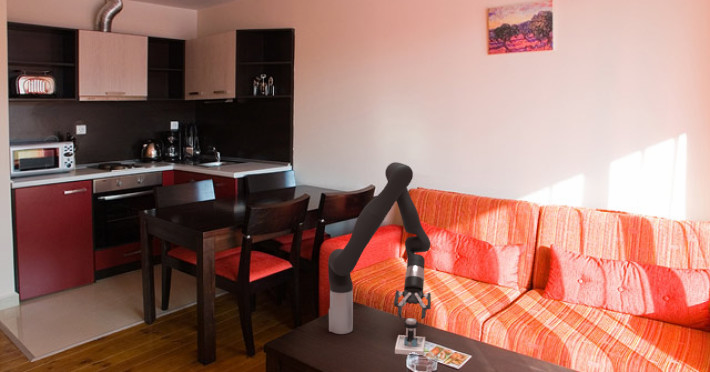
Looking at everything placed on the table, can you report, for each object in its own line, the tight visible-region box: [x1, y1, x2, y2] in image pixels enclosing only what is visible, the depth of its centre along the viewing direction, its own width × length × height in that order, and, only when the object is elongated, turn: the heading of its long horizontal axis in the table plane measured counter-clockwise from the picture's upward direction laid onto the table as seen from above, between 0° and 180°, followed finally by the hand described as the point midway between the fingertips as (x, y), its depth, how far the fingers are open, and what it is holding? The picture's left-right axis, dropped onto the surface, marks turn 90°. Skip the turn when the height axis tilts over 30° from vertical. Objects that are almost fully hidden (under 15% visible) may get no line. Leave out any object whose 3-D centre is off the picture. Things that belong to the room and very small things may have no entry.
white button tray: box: [394, 334, 426, 356], centre depth 204 cm, size 10×12×2 cm
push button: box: [403, 317, 421, 347], centre depth 204 cm, size 7×5×10 cm
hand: (411, 317), depth 207 cm, fingers open, 8 cm apart
